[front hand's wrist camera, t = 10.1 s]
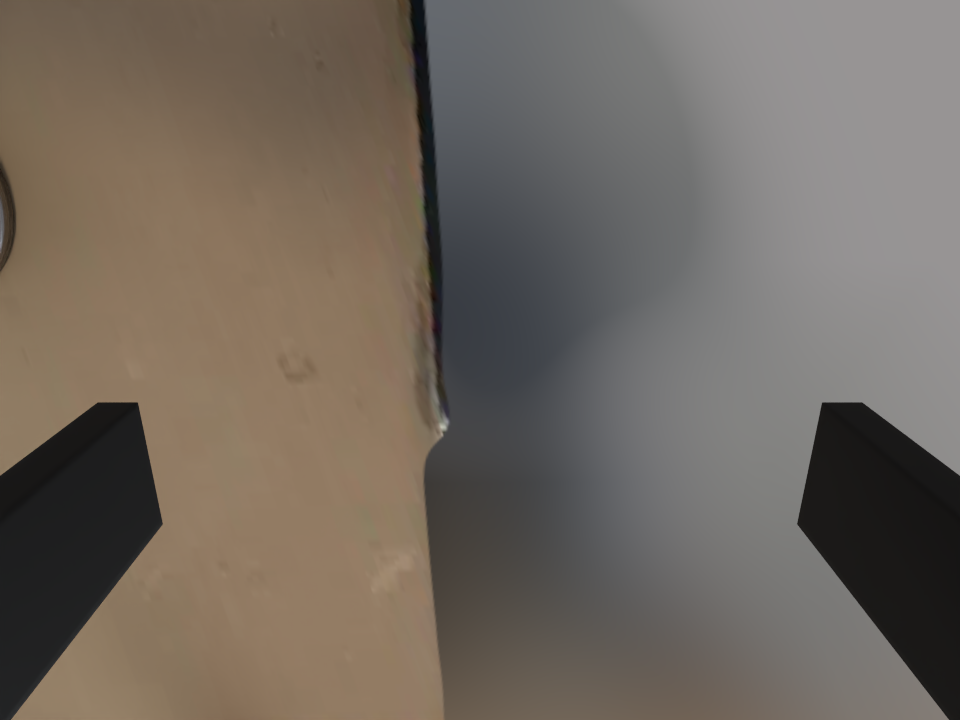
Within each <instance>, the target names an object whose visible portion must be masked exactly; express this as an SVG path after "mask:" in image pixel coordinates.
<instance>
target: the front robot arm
mask: <svg viewBox="0 0 960 720" xmlns="http://www.w3.org/2000/svg"><path fill="white" fill-rule="evenodd" d="M13 230H14V217H13V207H12V202H11V197H10V193H9V190H8V187H7V184H6V181H5V178H4V176H3V173H2V171H1V169H0V270H1V268H2V267H3V265H4V263H5V261H6V259H7V257H8V254H9V251H10V248H11V243H12V239H13ZM162 524H163V523H162V518H161V513H160V508H159V503H158V499H157V494H156V489H155V484H154V479H153V474H152V469H151V464H150V460H149V455H148V450H147V445H146V440H145V435H144V430H143V425H142V421H141V416H140V411H139V406H138V403H97V404H95V405H94V406H93V407H91V408H90V409H89V410H87V411H86V412H85V413H83V414H82V415H81V416H79V417H78V418H77V419H75V420H74V421H73V422H71V423H70V424H69V425H67V426H66V427H65V428H63V429H62V430H61V431H59V432H58V433H57V434H55V435H54V436H53V437H51V438H50V439H49V440H47V441H46V442H45V443H43V444H42V445H41V446H39V447H38V448H37V449H35V450H34V451H33V452H31V453H30V454H29V455H27V456H26V457H25V458H23V459H22V460H21V461H19V462H18V463H17V464H15V465H14V466H13V467H11V468H10V469H9V470H7V471H6V472H5V473H3V474H2V475H1V476H0V720H11V719H12V718H13V716H14V715H15V714H16V712H17V711H18V710H19V709H20V707H21V706H22V705H23V703H24V702H25V701H26V700H27V698H28V697H29V696H30V694H31V693H32V692H33V691H34V689H35V688H36V687H37V685H38V684H39V683H40V682H41V680H42V679H43V678H44V676H45V675H46V674H47V673H48V671H49V670H50V669H51V667H52V666H53V665H54V663H55V662H56V661H57V660H58V658H59V657H60V656H61V654H62V653H63V652H64V651H65V649H66V648H67V647H68V645H69V644H70V643H71V642H72V640H73V639H74V638H75V636H76V635H77V634H78V633H79V631H80V630H81V629H82V627H83V626H84V625H85V624H86V622H87V621H88V620H89V618H90V617H91V616H92V615H93V613H94V612H95V611H96V609H97V608H98V607H99V606H100V604H101V603H102V602H103V600H104V599H105V598H106V597H107V595H108V594H109V593H110V591H111V590H112V589H113V588H114V586H115V585H116V584H117V582H118V581H119V580H120V579H121V577H122V576H123V575H124V573H125V572H126V571H127V570H128V568H129V567H130V566H131V564H132V563H133V562H134V560H135V559H136V558H137V557H138V555H139V554H140V553H141V551H142V550H143V549H144V548H145V546H146V545H147V544H148V542H149V541H150V540H151V539H152V537H153V536H154V535H155V533H156V532H157V531H158V530H159V528H160V527H161V526H162ZM797 524H798V526H799V527H800V528H801V530H802V531H803V532H804V533H805V535H806V536H807V537H808V539H809V540H810V541H811V542H812V544H813V545H814V546H815V548H816V549H817V550H818V551H819V553H820V554H821V555H822V557H823V558H824V559H825V560H826V562H827V563H828V564H829V566H830V567H831V568H832V569H833V571H834V572H835V573H836V575H837V576H838V577H839V578H840V580H841V581H842V582H843V584H844V585H845V586H846V588H847V589H848V590H849V591H850V593H851V594H852V595H853V597H854V598H855V599H856V600H857V602H858V603H859V604H860V606H861V607H862V608H863V609H864V611H865V612H866V613H867V615H868V616H869V617H870V618H871V620H872V621H873V622H874V624H875V625H876V626H877V627H878V629H879V630H880V631H881V633H882V634H883V635H884V636H885V638H886V639H887V640H888V642H889V643H890V644H891V645H892V647H893V648H894V649H895V651H896V652H897V653H898V654H899V656H900V657H901V658H902V660H903V661H904V662H905V663H906V665H907V666H908V667H909V669H910V670H911V671H912V672H913V674H914V675H915V676H916V678H917V679H918V680H919V681H920V683H921V684H922V685H923V687H924V688H925V689H926V690H927V692H928V693H929V694H930V696H931V697H932V698H933V700H934V701H935V702H936V703H937V705H938V706H939V707H940V708H941V710H942V711H943V712H944V714H945V715H946V716H947V718H948V719H949V720H960V476H959V475H958V474H957V473H955V472H954V471H953V470H951V469H950V468H949V467H947V466H946V465H945V464H943V463H942V462H941V461H939V460H938V459H937V458H935V457H934V456H933V455H931V454H930V453H929V452H927V451H926V450H925V449H923V448H922V447H921V446H919V445H918V444H917V443H915V442H914V441H913V440H911V439H910V438H909V437H907V436H906V435H905V434H903V433H902V432H901V431H899V430H898V429H897V428H895V427H894V426H893V425H891V424H890V423H889V422H887V421H886V420H885V419H883V418H882V417H881V416H879V415H878V414H877V413H875V412H874V411H873V410H871V409H870V408H869V407H867V406H866V405H865V404H863V403H822V406H821V411H820V416H819V421H818V425H817V431H816V435H815V440H814V445H813V450H812V455H811V460H810V464H809V469H808V474H807V479H806V484H805V489H804V494H803V499H802V503H801V508H800V513H799V518H798V523H797Z"/></svg>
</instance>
